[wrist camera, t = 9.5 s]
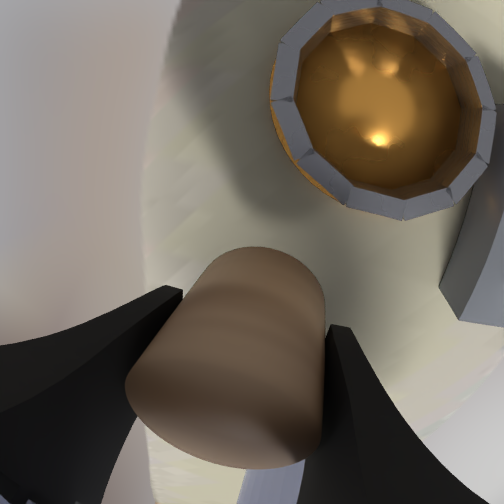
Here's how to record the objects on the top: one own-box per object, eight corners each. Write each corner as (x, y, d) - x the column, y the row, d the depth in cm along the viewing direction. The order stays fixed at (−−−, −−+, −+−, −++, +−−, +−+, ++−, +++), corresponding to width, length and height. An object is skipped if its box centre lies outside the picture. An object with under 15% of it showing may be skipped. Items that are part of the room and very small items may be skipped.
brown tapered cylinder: (306, 364, 11) (291, 479, 6) (196, 337, 11) (140, 436, 7) (341, 263, 9) (355, 392, 4) (201, 233, 9) (108, 326, 5)
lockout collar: (451, 233, 12) (471, 252, 10) (255, 186, 13) (243, 197, 11) (481, 49, 7) (505, 41, 5) (285, -11, 9) (278, -33, 7)
